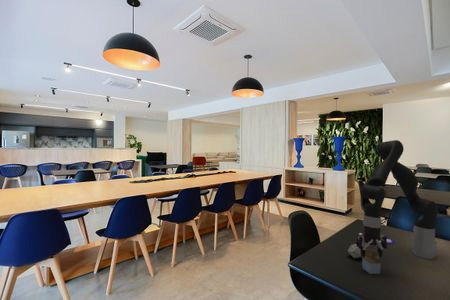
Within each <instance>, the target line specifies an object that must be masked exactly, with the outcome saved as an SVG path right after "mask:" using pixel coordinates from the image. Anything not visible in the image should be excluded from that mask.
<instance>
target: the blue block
mask: <svg viewBox="0 0 450 300" xmlns="http://www.w3.org/2000/svg"><path fill="white" fill-rule="evenodd" d="M361 264H362V265H361V266H362V267H361V268H362V269H363V270H364V271H365V272H367V273H368V274H370V275H371V274H373V275H374V274H375V275H377V274H378V275H379V274H381V266H382V265H381V263H380V262H379V263H369V262H368V261H366V260H365V259H364V257H362V263H361Z"/></svg>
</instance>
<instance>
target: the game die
mask: <svg viewBox="0 0 450 300" xmlns="http://www.w3.org/2000/svg"><path fill="white" fill-rule="evenodd" d="M356 244H357V241H356V242H355V243H354V244H353V243H349V245H347V248H348V249H347V250H346V251H345V252H346V253H348V254H349V255H350V256H351V257H352V258H353V260H356V259H358V258H359V259H362V258H364V257H363V256H362V255H361V254H360V248H359V247H357V246H356Z"/></svg>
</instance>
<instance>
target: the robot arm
mask: <svg viewBox="0 0 450 300" xmlns="http://www.w3.org/2000/svg"><path fill="white" fill-rule="evenodd" d="M376 152H377V154H378V156H379V157H380V159H382V161H381V162H380V163H379V164H377V165H376V166H375V168H374V169H373V171H372V173H371V175H370V177H369V178H368V179H367V181H365V182H364V184H362V186H361V187H360V189H359V190H360V192H359V193H360V195H361V197H362V198H363V199H367V200H373V201H374V202H373V203H370V202H369V203H365V204H364V206H363V222H362V223H363V225H362V228H363V229H362V233H364V235H363V236H361V235H360V234H357V237H356V242H357V244H356V243H355V244H356V246H357V247H359V248H360V254H361V255H362V256H363V257H362V256H361V257H362V258H364V257H365V249H367V248H368V247H369V246H376V247H377V251H376V252H378V253H379V258H382V257H383V256H384V255H383V254H384V253H383V250H384V249H386V250H387V249H388V244H387V239H388V237H385V236H383V235H381V234H382V217H381V215H382V214H381V213H382V206H383V202H384V200H385V197H386V190H385V189H384V187H383V186H385V185H386V183H387V181H388V178H389V175H390V174H392V176H393V178H394V179H395V181H396V182H397V185H398V186H399V187H400V189H401V191H402V192H403V194H404V196H405V199H406V201H407V203H408V206H409V207H410V209H411V210H412V211H413V212H414V213H416V214H418V215H422V219H415V220H413V239H412V241H413V244H412V245H413V246H412V247H413V248H412V250H413V252H412V253H413V255H414V256H416V257H419V258H422V259H426V260H434V259H437V241H436V235H435V234H436V225H437V221H438V211H439V210H438V204H437V203H436V202H435V201H433V200H430V199H425V198H421V197H420V196H419V194H418V193H417V189H418V186H419V180H418V178H417V175H415V173H414V171H413V170H411V169H410V168H409V167H408V166H406V165H404V164H402V163H400V162H399V160H400V158H402V155H403V153H404V144H403V143H402V142H401V141H400V140H398V139H394V140H387V141H382V142H381V141H380V142H379V143H377V145H376ZM380 240H381V243H380V242H379V241H380Z"/></svg>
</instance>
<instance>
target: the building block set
mask: <svg viewBox="0 0 450 300" xmlns="http://www.w3.org/2000/svg"><path fill="white" fill-rule="evenodd" d="M358 235H359V236H361V235H362V236H363V235H364V233H363V232H362V233H361V232H359V233H358ZM381 235H383V236H385V237H386V238H387V245H393V244H395V242H396V241H395V240H393V239H390V238H389V239H388V237H387V236H388V235H387V234H385V233H381ZM379 242H380V244H381V240H380V241H379Z"/></svg>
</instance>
